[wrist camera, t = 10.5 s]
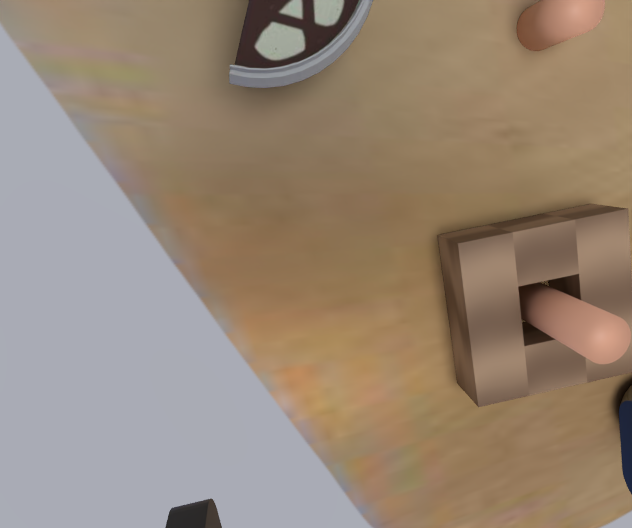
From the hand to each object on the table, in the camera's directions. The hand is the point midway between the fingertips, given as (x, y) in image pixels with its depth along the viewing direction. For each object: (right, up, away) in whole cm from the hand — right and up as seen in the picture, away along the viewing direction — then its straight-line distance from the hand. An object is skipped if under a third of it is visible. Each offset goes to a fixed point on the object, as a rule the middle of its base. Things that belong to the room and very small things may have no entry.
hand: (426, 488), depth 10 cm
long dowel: (+14, +2, +30) cm, 33 cm away
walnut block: (+14, +2, +30) cm, 33 cm away
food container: (-3, +20, +24) cm, 32 cm away
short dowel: (+13, +21, +26) cm, 36 cm away
